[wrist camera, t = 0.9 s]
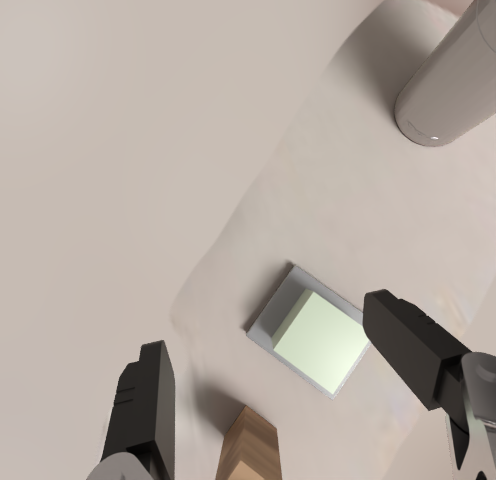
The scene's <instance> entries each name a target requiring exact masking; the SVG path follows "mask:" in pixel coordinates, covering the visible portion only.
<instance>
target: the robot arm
mask: <svg viewBox="0 0 496 480" xmlns="http://www.w3.org/2000/svg"><path fill="white" fill-rule="evenodd" d="M495 113H496V0H474V1H473V2H472V3H471V5H470V6H469V7H468V8H467V10H466V11H465V12H464V13H463V15H462V16H461V17H460V18H459V20H458V21H457V22H456V23H455V25H454V26H453V27H452V28H451V30H450V31H449V32H448V33H447V35H446V36H445V37H444V38H443V40H442V41H441V42H440V43H439V45H438V46H437V47H436V48H435V50H434V51H433V52H432V53H431V55H430V56H429V57H428V58H427V60H426V61H425V62H424V63H423V65H422V66H421V67H420V68H419V69H418V71H417V72H416V73H415V74H414V76H413V77H412V78H411V79H410V81H409V82H408V83H407V85H406V86H405V87H404V88H403V90H402V91H401V92H400V94H399V95H398V98H397V100H396V103H395V118H396V122H397V124H398V126H399V128H400V130H401V131H402V132H403V133H404V134H405V136H407V137H408V138H409V139H410V140H412V141H414V142H416V143H418V144H421V145H424V146H433V147H435V146H442V145H445V144H448V143H450V142H452V141H454V140H455V139H457V138H459V137H460V136H462V135H463V134H465V133H466V132H468V131H469V130H471V129H472V128H474V127H475V126H477V125H479V124H480V123H482V122H483V121H485V120H486V119H488V118H489V117H491V116H492V115H494V114H495ZM362 324H363V329H364V332H365V334H366V336H367V338H368V339H369V340H370V341H371V343H372V344H373V345H374V346H375V347H376V349H377V350H378V351H379V352H380V353H381V355H382V356H383V357H384V358H385V359H386V361H387V362H388V363H389V364H390V365H391V366H392V368H393V369H394V370H395V371H396V372H397V374H398V375H399V376H400V377H401V378H402V380H403V381H404V382H405V383H406V384H407V386H408V387H409V388H410V389H411V390H412V392H413V393H414V394H415V395H416V396H417V398H418V399H419V400H420V401H421V402H422V404H423V405H424V406H425V407H426V408H427V409H428V411H430V410H433V409H437V408H440V407H442V408H443V409H444V410H445V412H446V417H445V421H446V428H447V435H448V443H449V450H450V457H451V464H452V471H453V480H496V357H495V356H493V355H490V354H486V353H481V352H472V351H471V350H469V349H468V348H467V347H466V346H465V345H463V344H462V343H461V342H460V341H458V340H457V339H456V338H455V337H454V336H452V335H451V334H450V333H449V332H447V331H446V330H445V329H444V328H443V327H441V326H440V325H439V324H438V323H435V321H434V320H433V319H432V318H430V317H429V316H426V314H425V313H424V312H423V311H422V310H420V309H419V308H418V307H417V306H416V305H414V304H412V303H410V302H407V301H405V300H403V299H397V298H396V297H395V296H394V295H393V294H391V293H390V292H389V291H388V290H386V289H382V290H378V291H374V292H369V293H366V294H365V297H364V308H363V321H362ZM174 469H175V378H174V372H173V368H172V365H171V362H170V358H169V355H168V352H167V348H166V345H165V342H164V340H161V341H157V342H152V343H148V344H144V345H142V346H141V351H140V358H139V361H137V362H134V363H129V364H128V365H127V366H126V368H125V369H124V371H123V373H122V374H121V376H120V377H119V381H118V386H117V390H116V395H115V400H114V407H113V409H112V413H111V418H110V422H109V427H108V431H107V436H106V441H105V445H104V450H103V454H102V458H101V461H100V463H99V464H98V465H97V466H96V467H95V468H94V469H93V471H92V472H91V473H90V475H89V476H88V478H87V479H86V480H174Z"/></svg>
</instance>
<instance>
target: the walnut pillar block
mask: <svg viewBox="0 0 496 480" xmlns="http://www.w3.org/2000/svg"><path fill="white" fill-rule="evenodd" d="M215 480H282V473H281V464H280V455H279V446H278V437H277V429H276V428H275V427H274V426H273V425H271V424H270V423H269V422H267V421H266V420H265V419H264V418H262V417H261V416H260V415H258V414H257V413H256V412H254V411H253V410H252V409H251V408H249V407H248V406H247V405H246V406H245V407H244V409H243V410H242V412H241V413H240V415H239V416H238V418H237V419H236V420H235V422H234V423H233V425H232V426H231V428H230V429H229V431H228V432H227V433H226V435H225V436H224V440H223V445H222V450H221V455H220V460H219V464H218V469H217V474H216V479H215Z"/></svg>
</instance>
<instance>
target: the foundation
mask: <svg viewBox="0 0 496 480" xmlns="http://www.w3.org/2000/svg"><path fill="white" fill-rule="evenodd" d="M362 321H363V313H362V312H361V311H359V310H358V309H357V308H355V307H354V306H352V305H351V304H350V303H348V302H347V301H345V300H344V299H342V298H341V297H340V296H338V295H337V294H335V293H334V292H333V291H331V290H330V289H328V288H327V287H325V286H324V285H323V284H321V283H320V282H318V281H317V280H316V279H314V278H313V277H311V276H310V275H308V274H307V273H306V272H304V271H303V270H301V269H300V268H299V267H297V266H296V265H294V266H293V268H292V269H291V270H290V272H289V273H288V275H287V276H286V278H285V279H284V280H283V282H282V283H281V285H280V286H279V288H278V289H277V290H276V292H275V293H274V295H273V296H272V298H271V299H270V300H269V302H268V303H267V305H266V306H265V307H264V309H263V310H262V312H261V313H260V315H259V316H258V317H257V319H256V320H255V322H254V323H253V325H252V326H251V327H250V329H249V330H248V332H247V334H246V336H247V337H248V338H250V339H251V340H252V341H254V342H255V343H256V344H258V345H259V346H260V347H262V348H263V349H264V350H266V351H267V352H269V353H270V354H271V355H273V356H274V357H275V358H277V359H278V360H279V361H281V362H282V363H283V364H285V365H286V366H287V367H289V368H290V369H291V370H293V371H294V372H295V373H297V374H298V375H299V376H301V377H302V378H303V379H305V380H306V381H307V382H309V383H310V384H311V385H313V386H314V387H315V388H317V389H318V390H319V391H321V392H322V393H323V394H325V395H326V396H327V397H329V398H330V399H331V400H334V398H335V397H336V395H337V394H338V392H339V391H340V389H341V388H342V386H343V385H344V383H345V382H346V380H347V379H348V377H349V376H350V374H351V373H352V371H353V370H354V368H355V367H356V365H357V364H358V362H359V361H360V359H361V358H362V356H363V355H364V353H365V352H366V350H367V349H368V347H369V346H370V344H371V341H370V340H369V339H368V338H367V336H366V334H365V332H364V329H363V324H362Z"/></svg>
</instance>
